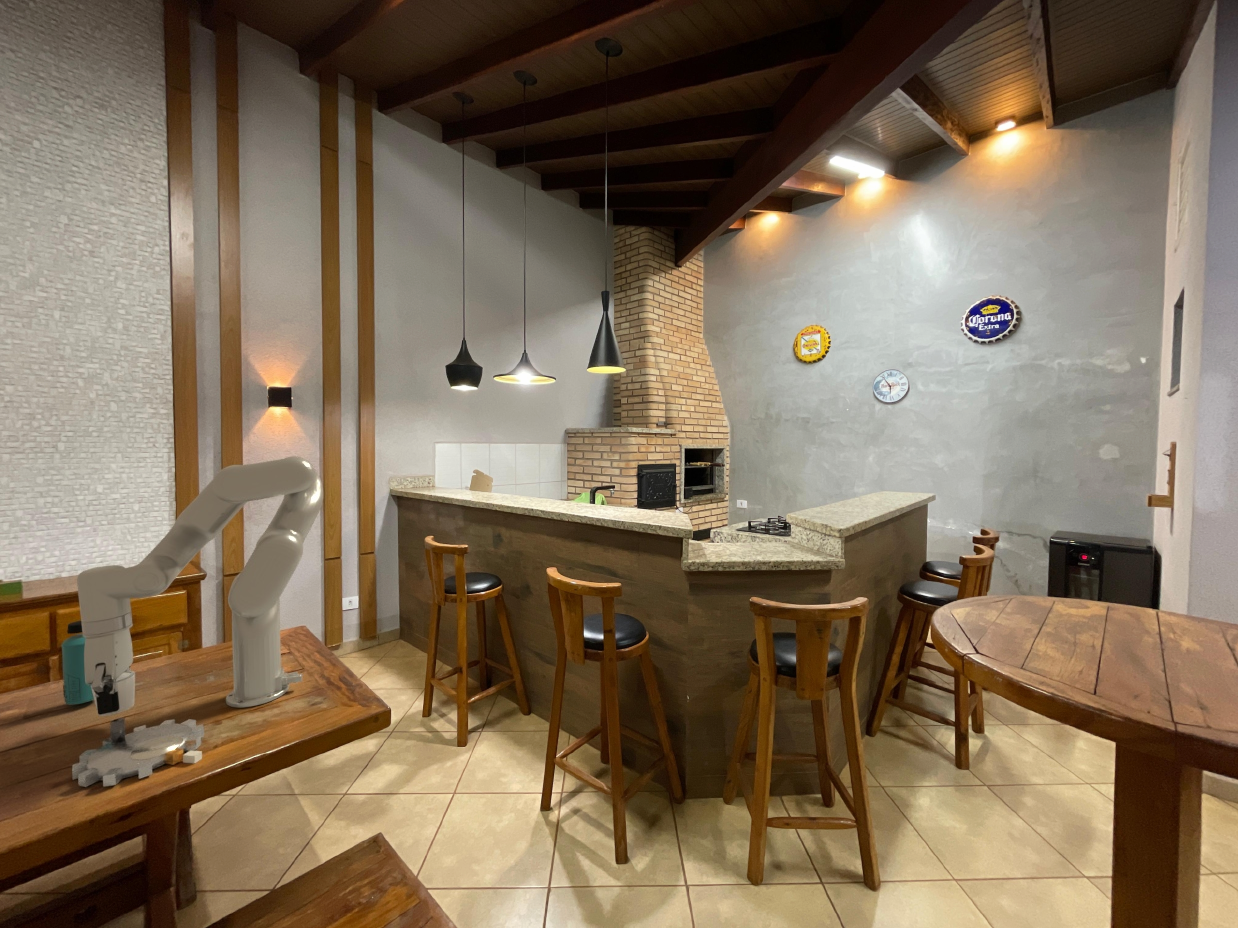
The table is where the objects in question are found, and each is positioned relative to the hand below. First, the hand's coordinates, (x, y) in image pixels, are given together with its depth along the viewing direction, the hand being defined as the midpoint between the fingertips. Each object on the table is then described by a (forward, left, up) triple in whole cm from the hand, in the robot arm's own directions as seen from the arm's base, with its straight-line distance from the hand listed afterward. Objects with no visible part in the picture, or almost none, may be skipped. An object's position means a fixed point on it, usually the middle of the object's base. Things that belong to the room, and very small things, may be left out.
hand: (116, 703), depth 108 cm
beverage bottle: (+11, -17, -6) cm, 21 cm away
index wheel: (-9, +16, -5) cm, 19 cm away
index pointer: (-18, +22, -5) cm, 29 cm away
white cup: (0, 0, -1) cm, 1 cm away
